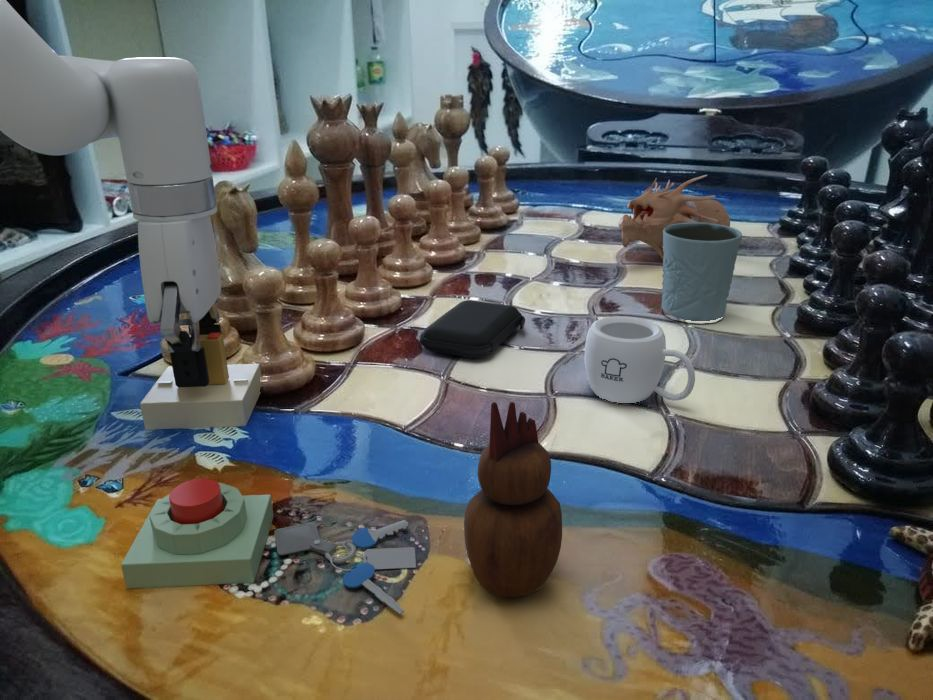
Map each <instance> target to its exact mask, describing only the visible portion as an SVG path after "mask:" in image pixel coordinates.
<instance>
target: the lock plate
mask: <svg viewBox="0 0 933 700" xmlns="http://www.w3.org/2000/svg"><path fill="white" fill-rule="evenodd" d="M227 367H228V374H229V378H228V380H227V382H226V384H210V385H207V386H205V387H177V386H176V384H175V379H174V373H173V368H172V365H168V366H167V367H166V368H165V369H164V371H163V373H161V374H160V376H159V378H158V379H157V380H156V382H155V383H154V384H153V385H152V387H151V388H150V390H148V392H147V394H145V396H144V398H143V399H142V400H141V401H140V403H139V407H140V411H141V416H142V421H143V426H144V430H145V431H151V430H180V429H182V430H183V429H208V428H209V429H210V428H235V427H236V428H239V427H240V428H241V427H247V425H248V422H249V420H250V418H251V415H252V414H253V412H254V409H255V407H256V405H257V402H258V400H259V397H260V396H261V393H262V391H261V392H260V377H261V376H262V369H261V364H260V363H235V364H234V363H233V364H227Z"/></svg>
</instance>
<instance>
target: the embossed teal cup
mask: <svg viewBox="0 0 933 700" xmlns="http://www.w3.org/2000/svg"><path fill="white" fill-rule="evenodd" d="M742 237H743V233H742V232H741V231H740V230H739V229H737V228H735V227H732V226H730V227H729V226H724V225H719V224H713V223H702V222H688V223H678V224H672V225H669V226H667V227H665V228H664V230H663V246H662V248H663V253H664V256H663V259H662V276H661V277H662V282H661V284H662V285H661V286H662V288H661V310H662V309H663V310H664V311H665V312H666V313H668V314H669V315H672V316H674V317H678V318H681V319H684V320H691V321H710V320H716V319H718V318H721V317H723V316H724V317H725V315H724V314H726V309H727V306H728V302H727V300H728V298H729V296H730V291H731V284H732V282H733V277H734V276H733V275H734V271H735V269H736V268H735V266H736V262H737V259H738V254H739V250H740V245H741V241H742Z"/></svg>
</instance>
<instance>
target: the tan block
mask: <svg viewBox="0 0 933 700" xmlns="http://www.w3.org/2000/svg"><path fill="white" fill-rule="evenodd" d="M189 336H190V337H191V335H190V334H189ZM225 347H226V346H225V340H224V335H223V334H220V333H210V334H209V335H200V348H204V349H205V355H206V362H207V368H208V375H209V384H208V385H210V384H226V382H227V380H228V378H229V374H228V367H227V365H228V361H227V355H226V348H225Z"/></svg>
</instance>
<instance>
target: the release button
mask: <svg viewBox="0 0 933 700" xmlns="http://www.w3.org/2000/svg"><path fill="white" fill-rule="evenodd" d="M218 483H219V482H217V481H216V480H213V479H211V478H195V479H190V480H187V481H184V482H182V483H180V484H178V485H176V486H175V487H174V488H172V490H171V491H170V493H169V494H170V495H169V501H170V506H171V511H172V516H173V519H174V521H175V522H176V523H179V524H198V523H201V522H204V521H207V520H210V519H213V518H214V517H216V516H217V515H219V514H220V513H221V512H222V511H223V500H222V494H221V488H220V485H219V484H218Z"/></svg>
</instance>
